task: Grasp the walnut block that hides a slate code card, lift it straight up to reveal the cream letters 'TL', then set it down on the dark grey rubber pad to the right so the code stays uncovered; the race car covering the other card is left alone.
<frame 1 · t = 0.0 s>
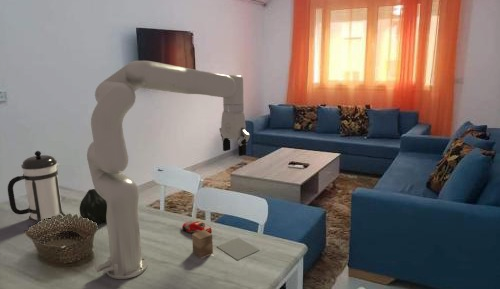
hand: (234, 152, 141), 31 cm above the table, fingers open, 9 cm apart
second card: (196, 232, 144), on the table
code card: (202, 253, 129), on the table
race car: (196, 232, 144), resting on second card
walnut block: (202, 252, 129), resting on code card
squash: (100, 220, 156), on the table
pad: (237, 249, 131), on the table
coffee press: (44, 219, 157), on the table
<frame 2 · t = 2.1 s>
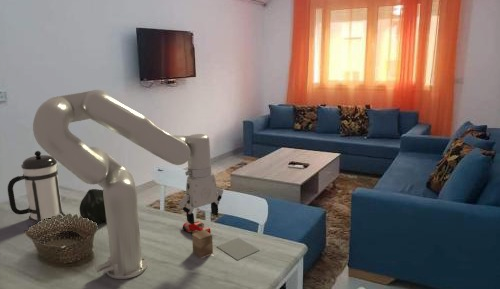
hand: (203, 218, 126), 13 cm above the table, fingers open, 9 cm apart
nothing on the table moved.
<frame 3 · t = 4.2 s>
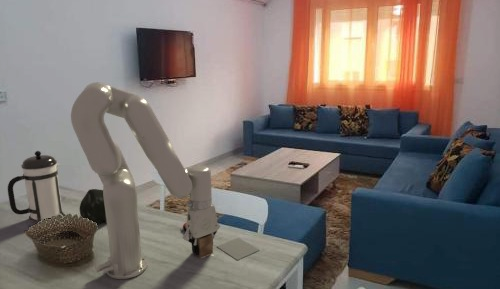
hand: (202, 250, 129), 1 cm above the table, fingers closed on walnut block, 5 cm apart
walnut block: (202, 252, 129), resting on code card, touching gripper
everything else where it was.
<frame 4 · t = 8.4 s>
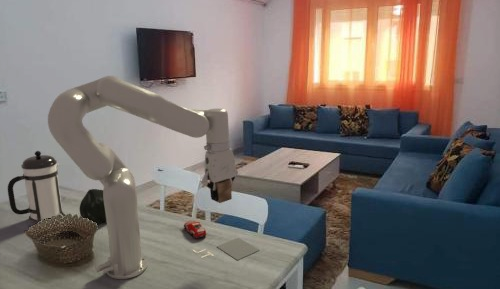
hand: (221, 197, 126), 20 cm above the table, fingers closed on walnut block, 5 cm apart
walnut block: (221, 199, 126), point 20 cm above the table, touching gripper
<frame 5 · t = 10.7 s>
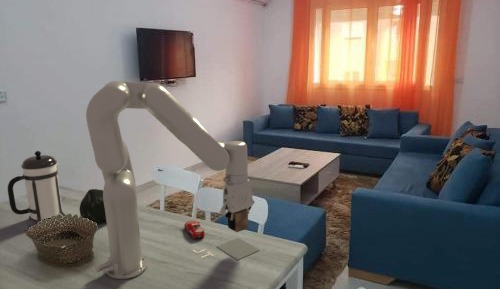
hand: (238, 225, 129), 9 cm above the table, fingers closed on walnut block, 5 cm apart
walnut block: (238, 227, 129), point 8 cm above the table, touching gripper
when the fingers open (3 cm above the table, at t = 12.7 s): walnut block drops 2 cm, resting on pad.
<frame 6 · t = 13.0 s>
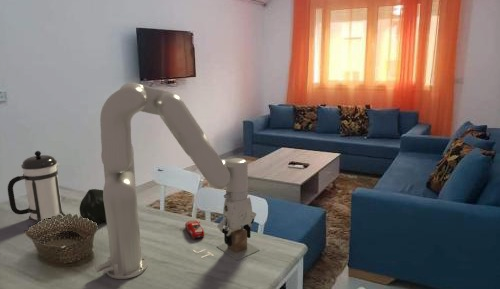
hand: (237, 240, 130), 3 cm above the table, fingers open, 8 cm apart
walnut block: (237, 248, 131), resting on pad
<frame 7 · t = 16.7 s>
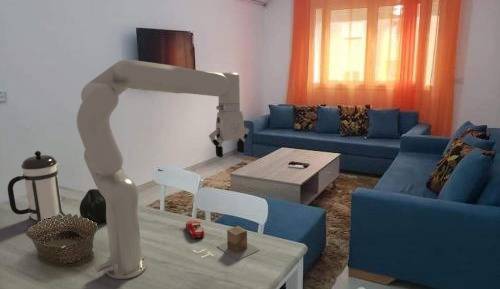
hand: (230, 154, 134), 32 cm above the table, fingers open, 9 cm apart
at the end: walnut block inside the target area on the pad (0.2 cm from its centre), point 0.4 cm above the pad's base; walnut block tilted 0°; the gripper is holding nothing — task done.
